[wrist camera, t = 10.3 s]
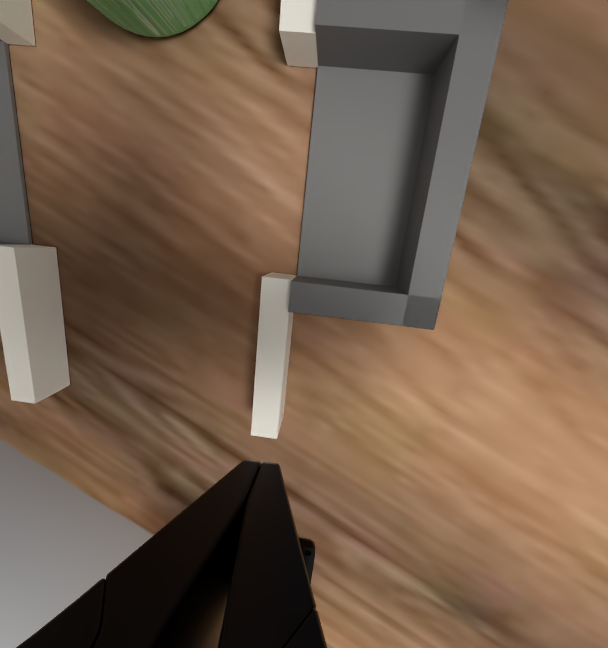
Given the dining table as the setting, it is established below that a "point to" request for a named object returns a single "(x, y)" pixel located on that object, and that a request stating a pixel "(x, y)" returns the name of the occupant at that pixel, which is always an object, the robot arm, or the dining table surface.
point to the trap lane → (308, 182)
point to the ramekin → (154, 14)
